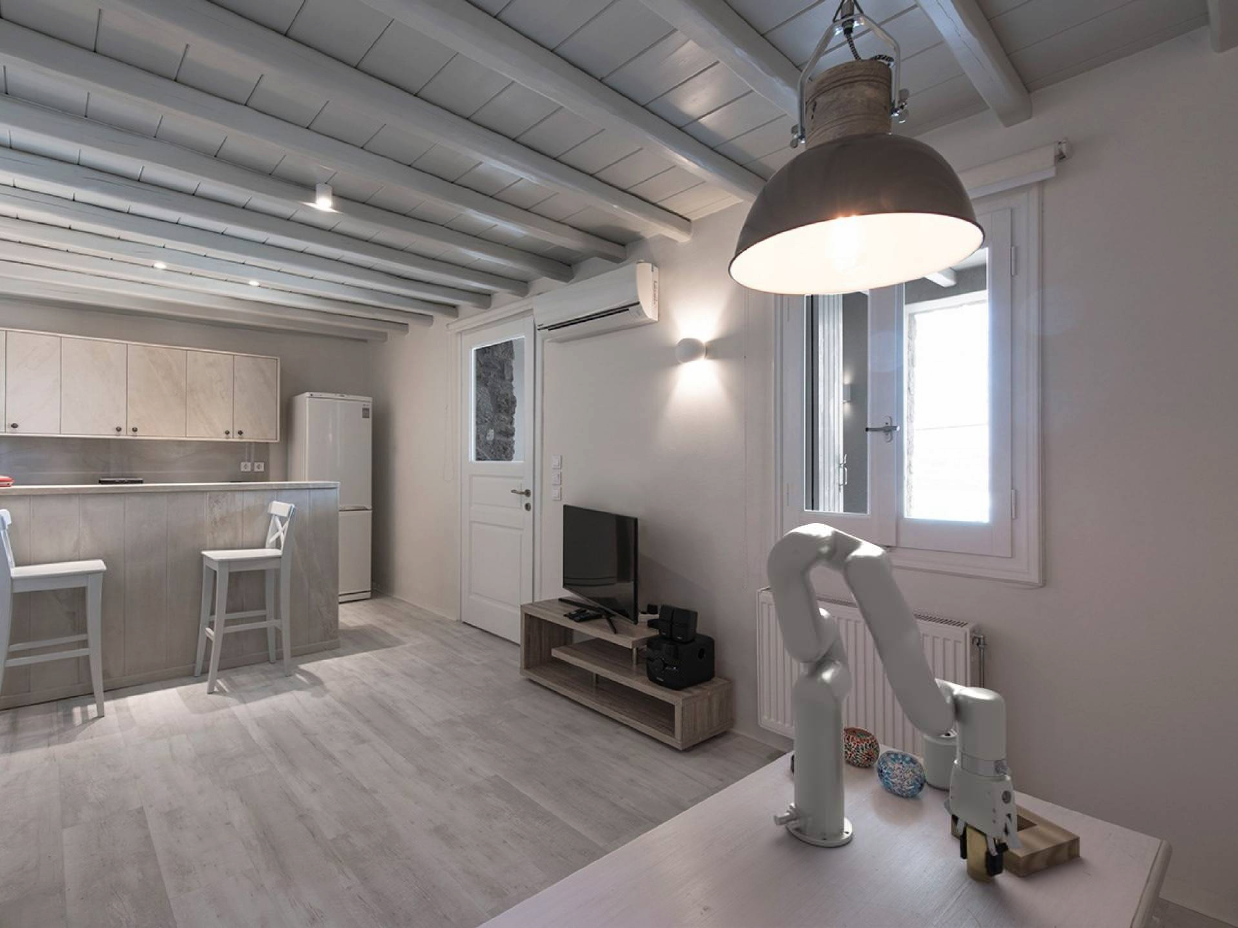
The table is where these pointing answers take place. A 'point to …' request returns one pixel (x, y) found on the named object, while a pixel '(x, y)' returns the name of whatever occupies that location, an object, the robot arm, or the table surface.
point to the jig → (1037, 844)
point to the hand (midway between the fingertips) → (980, 864)
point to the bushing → (977, 855)
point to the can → (939, 759)
